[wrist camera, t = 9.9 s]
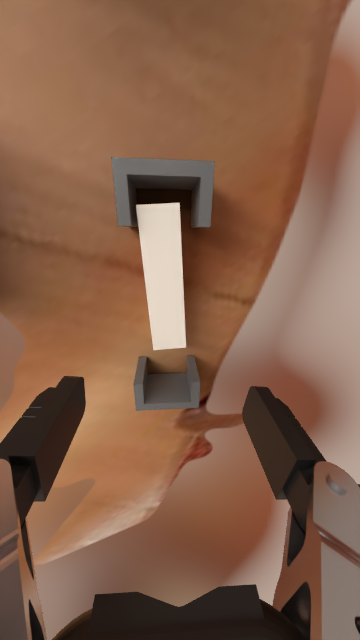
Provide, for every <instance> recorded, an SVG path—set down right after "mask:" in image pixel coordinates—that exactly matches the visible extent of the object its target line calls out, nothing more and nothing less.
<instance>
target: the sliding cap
mask: <svg viewBox="0 0 360 640" xmlns="http://www.w3.org/2000/svg"><path fill="white" fill-rule="evenodd" d="M134 393H135V403H136V411H140V410H161V409H182V408H199V395H200V378H199V374H198V370H197V366H196V361H195V357H194V355H187V368H186V373H167V374H148V373H147V358H146V357H139V360H138V365H137V370H136V375H135V380H134Z"/></svg>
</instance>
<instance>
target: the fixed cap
mask: <svg viewBox="0 0 360 640" xmlns="http://www.w3.org/2000/svg"><path fill="white" fill-rule="evenodd" d="M111 159H112V169H113V179H114V189H115V199H116V209H117V219H118V226H127V227H138V218H137V210H136V205H137V197H136V188H151V189H186V190H192V203H191V228H204V227H210V226H211V211H212V196H213V181H214V166H215V161H197V160H171V159H145V158H120V157H111Z"/></svg>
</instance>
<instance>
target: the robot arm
mask: <svg viewBox="0 0 360 640" xmlns="http://www.w3.org/2000/svg"><path fill="white" fill-rule="evenodd" d="M85 404H86V401H85V388H84V378H83V377H75V376H64V377H63V378H62V379H61V381H60V382H59V384H58V385H57V387H56V388H53V387H49V388H48V389H46V390H45V391H43V392H42V393H41V394H39V395H38V396H37V397H36V398H35V400H34V401H33V402H32V403H31V405H30V406H29V409H27V410H26V411H25V412H24V414H23V415H22V418H20V419H19V420H18V421H17V423H16V424H15V425H14V426H13V428H12V429H11V430H10V432H9V433H8V434H7V435H6V437H5V438H4V439H3V441H2V442H1V443H0V640H47V637H46V630H45V624H44V618H43V612H42V607H41V603H40V597H39V593H38V589H37V583H36V577H35V570H34V564H33V557H32V551H31V544H30V538H29V532H28V525H27V518H26V516H27V514H28V512H29V510H30V508H31V506H32V504H33V502H34V501H45V500H46V498H47V496H48V493H49V491H50V489H51V487H52V485H53V482H54V480H55V478H56V476H57V473H58V471H59V469H60V467H61V464H62V462H63V460H64V458H65V455H66V453H67V451H68V449H69V446H70V444H71V442H72V440H73V437H74V435H75V433H76V431H77V428H78V426H79V424H80V422H81V419H82V417H83V414H84V411H85ZM242 415H243V421H244V424H245V426H246V429H247V431H248V433H249V436H250V438H251V441H252V443H253V445H254V448H255V450H256V452H257V455H258V457H259V460H260V462H261V465H262V467H263V469H264V472H265V474H266V476H267V479H268V481H269V484H270V486H271V488H272V491H273V493H274V495H275V498H276V499H277V500H278V499H287V500H288V502H289V504H290V506H291V507H290V509H289V511H288V520H287V528H286V537H285V545H284V553H283V561H282V569H281V574H280V577H279V580H278V583H277V586H276V590H275V594H274V599H273V605H272V606H271V605H270V604H268V603H266V602H264V601H262V600H261V599H259V595H258V591H257V587H256V585H239V586H225V587H224V586H223V587H218V588H216V589H214V590H212V591H210V592H208V593H206V594H205V595H203V596H201V597H199V598H197V599H196V600H193V601H192V602H190V603H188V604H186V605H184V606H182V607H177V606H173V605H171V604H168V603H165V602H163V601H160V600H157V599H155V598H152V597H149V596H147V595H144V594H142V593H139V592H128V593H112V594H96V595H95V598H94V603H93V608H92V609H90V610H88V611H87V612H84V613H83V614H81V615H80V616H78V617H77V618H75V619H74V620H72V621H71V622H70V623H69V624H68V625H67V626H65V627H64V628H63V629H62V630H61V631H60V632H59V633H58V634H57V635H56V636H55V637H54V638H53V639H52V640H360V485H359V484H357V483H356V482H355V481H354V479H353V478H352V477H351V476H350V475H349V474H348V473H346V472H345V471H344V470H343V469H341V468H340V467H338V466H336V465H334V464H332V463H330V462H327V461H326V460H325V459H324V457H323V456H322V454H321V453H320V452H319V450H318V449H317V447H316V446H315V444H314V443H313V442H312V440H311V439H310V437H309V436H308V435H307V433H306V432H305V431H304V429H303V428H302V427H301V425H300V423H299V422H298V420H297V419H295V416H294V415H293V413H292V412H291V410H290V409H289V408H288V406H286V405H285V404H284V403H283V402H282V401H281V400H279V399H278V398H275V397H274V395H273V394H272V393H271V391H270V390H269V388H267V387H257V386H255V387H254V386H252V387H250V389H249V392H248V395H247V398H246V401H245V404H244V407H243V412H242Z"/></svg>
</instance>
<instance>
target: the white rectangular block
mask: <svg viewBox="0 0 360 640" xmlns="http://www.w3.org/2000/svg"><path fill="white" fill-rule="evenodd" d="M136 210H137V218H138V226H139V235H140V243H141V251H142V259H143V268H144V276H145V284H146V292H147V300H148V309H149V317H150V325H151V333H152V342H153V350H162V349H174V348H186V335H185V312H184V290H183V268H182V245H181V223H180V203H163V204H143V205H136Z"/></svg>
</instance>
